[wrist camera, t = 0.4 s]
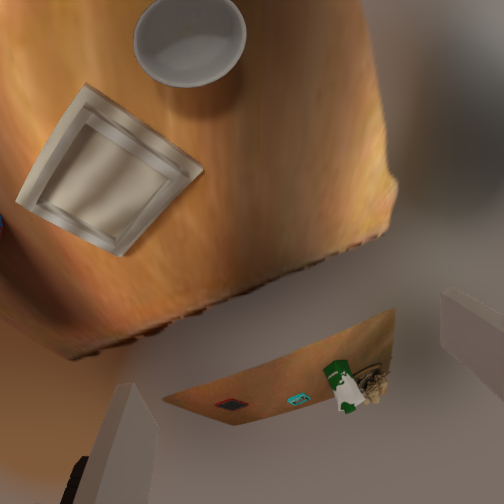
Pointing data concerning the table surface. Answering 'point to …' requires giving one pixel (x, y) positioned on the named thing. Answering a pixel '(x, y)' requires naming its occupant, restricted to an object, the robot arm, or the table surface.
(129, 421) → the robot arm
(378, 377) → the owl figurine
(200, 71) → the teacup
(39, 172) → the grey square tray
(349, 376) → the milk carton
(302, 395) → the handheld gaming console
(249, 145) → the table surface
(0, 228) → the thermos
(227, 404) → the cell phone
